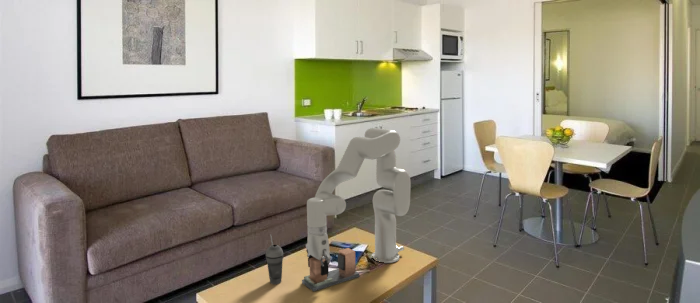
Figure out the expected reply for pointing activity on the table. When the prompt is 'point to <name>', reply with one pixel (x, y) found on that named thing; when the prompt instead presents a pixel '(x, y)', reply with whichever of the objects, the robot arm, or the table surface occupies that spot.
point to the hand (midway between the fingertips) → (318, 270)
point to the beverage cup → (274, 263)
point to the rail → (336, 272)
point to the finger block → (316, 270)
